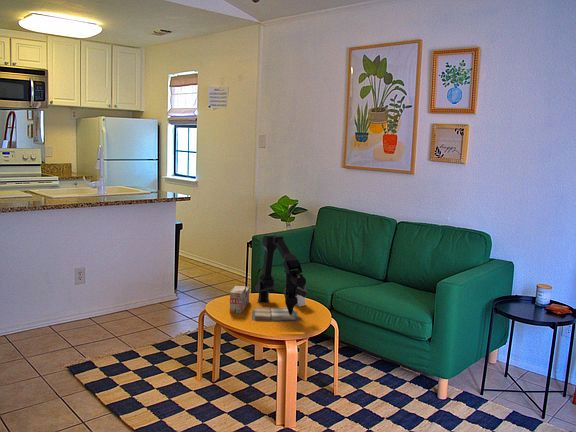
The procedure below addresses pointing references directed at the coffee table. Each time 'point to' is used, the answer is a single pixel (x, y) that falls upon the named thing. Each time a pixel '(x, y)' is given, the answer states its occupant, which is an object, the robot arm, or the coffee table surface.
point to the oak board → (262, 313)
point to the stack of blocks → (239, 299)
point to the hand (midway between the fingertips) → (290, 311)
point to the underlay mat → (275, 320)
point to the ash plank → (282, 314)
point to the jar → (300, 300)
